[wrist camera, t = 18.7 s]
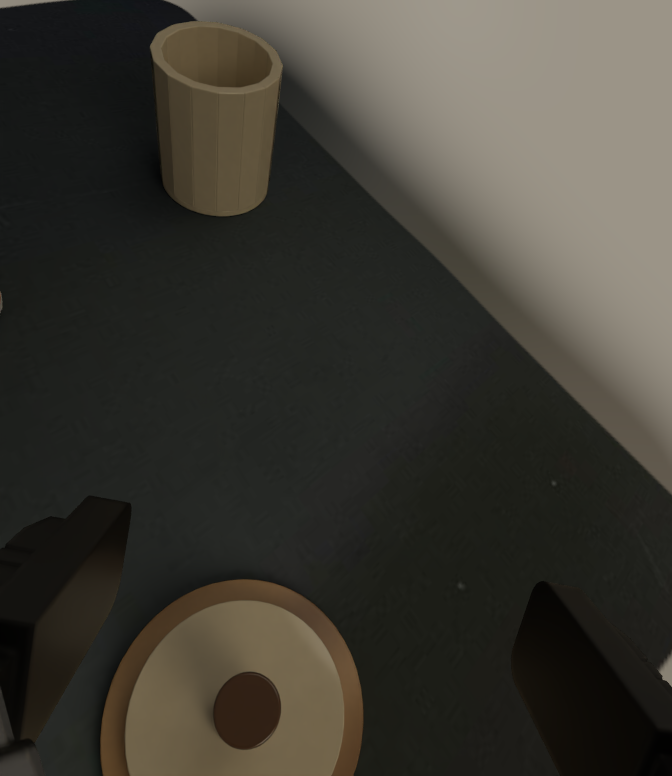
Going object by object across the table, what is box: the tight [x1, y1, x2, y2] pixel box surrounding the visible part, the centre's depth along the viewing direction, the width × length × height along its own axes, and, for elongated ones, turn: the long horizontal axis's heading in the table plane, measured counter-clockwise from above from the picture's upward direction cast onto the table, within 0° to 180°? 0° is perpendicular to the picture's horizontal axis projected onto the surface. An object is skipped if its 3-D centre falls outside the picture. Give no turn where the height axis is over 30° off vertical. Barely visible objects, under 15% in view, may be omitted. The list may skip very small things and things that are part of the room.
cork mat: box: [100, 579, 363, 776], centre depth 21 cm, size 10×10×1 cm
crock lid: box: [124, 600, 344, 776], centre depth 19 cm, size 8×8×6 cm
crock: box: [150, 21, 283, 216], centre depth 34 cm, size 7×7×8 cm
